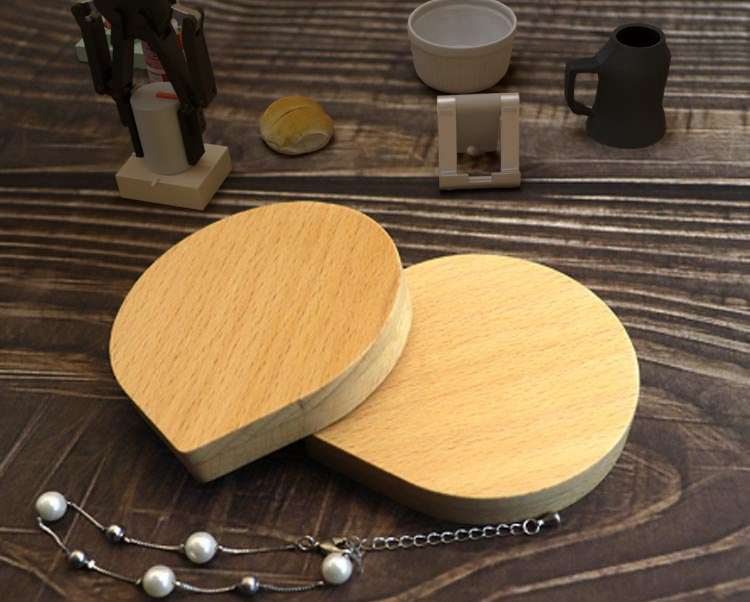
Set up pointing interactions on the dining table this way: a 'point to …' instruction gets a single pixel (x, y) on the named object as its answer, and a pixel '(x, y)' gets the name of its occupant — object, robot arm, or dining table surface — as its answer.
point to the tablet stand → (478, 137)
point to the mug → (625, 87)
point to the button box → (138, 52)
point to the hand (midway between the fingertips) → (170, 154)
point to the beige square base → (176, 180)
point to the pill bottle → (153, 62)
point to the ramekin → (461, 43)
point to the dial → (160, 128)
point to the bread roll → (296, 125)
